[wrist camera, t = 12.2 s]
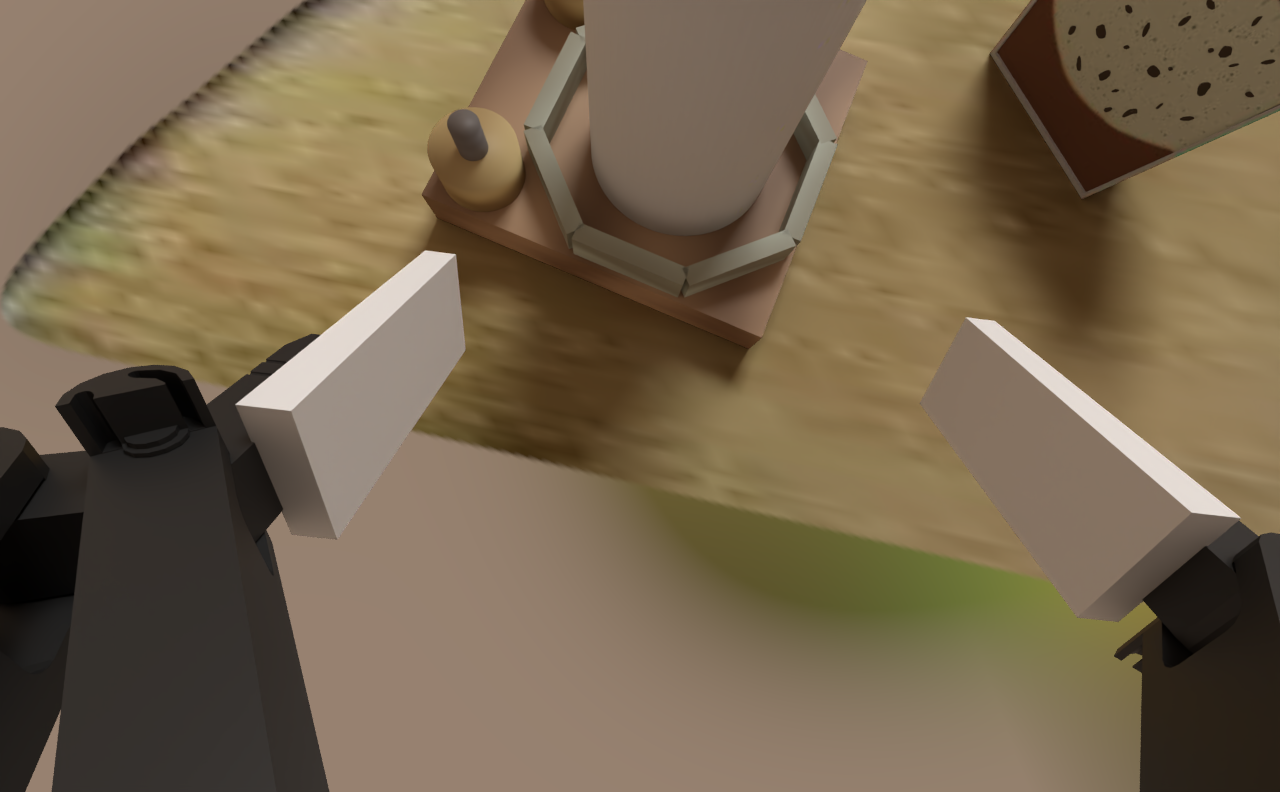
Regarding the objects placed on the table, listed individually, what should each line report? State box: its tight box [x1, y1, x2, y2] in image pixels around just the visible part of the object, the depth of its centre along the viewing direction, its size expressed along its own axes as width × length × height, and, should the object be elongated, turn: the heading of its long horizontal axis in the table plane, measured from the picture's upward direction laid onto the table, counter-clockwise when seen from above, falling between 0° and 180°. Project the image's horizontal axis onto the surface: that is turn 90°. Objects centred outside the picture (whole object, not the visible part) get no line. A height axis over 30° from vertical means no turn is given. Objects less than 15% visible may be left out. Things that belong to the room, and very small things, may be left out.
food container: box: [990, 0, 1280, 199], centre depth 22 cm, size 12×6×10 cm, turn 27°
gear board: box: [422, 0, 868, 349], centre depth 22 cm, size 16×15×5 cm
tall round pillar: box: [583, 0, 866, 236], centre depth 17 cm, size 8×8×12 cm
